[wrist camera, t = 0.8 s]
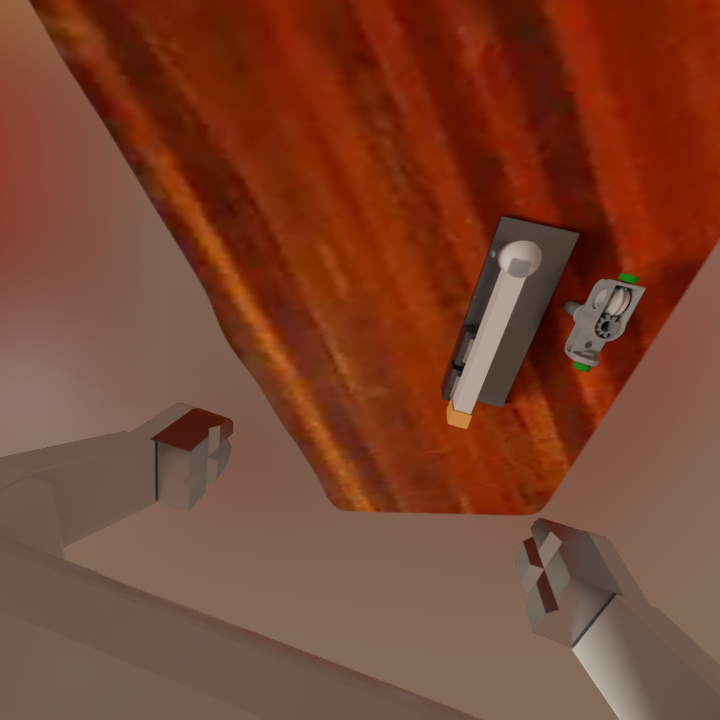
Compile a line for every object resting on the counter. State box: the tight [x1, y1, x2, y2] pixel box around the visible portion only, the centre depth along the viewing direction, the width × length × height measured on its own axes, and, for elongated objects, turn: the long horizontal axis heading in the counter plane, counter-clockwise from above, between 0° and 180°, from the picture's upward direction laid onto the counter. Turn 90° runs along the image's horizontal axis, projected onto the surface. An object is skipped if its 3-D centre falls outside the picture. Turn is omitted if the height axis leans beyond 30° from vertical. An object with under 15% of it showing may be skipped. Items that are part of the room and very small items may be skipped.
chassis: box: [441, 216, 580, 407], centre depth 42 cm, size 24×9×6 cm, turn 168°
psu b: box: [442, 360, 464, 401], centre depth 46 cm, size 5×4×4 cm
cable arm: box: [447, 240, 542, 429], centre depth 39 cm, size 22×4×3 cm, turn 168°
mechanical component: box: [563, 273, 646, 372], centre depth 38 cm, size 3×10×10 cm, turn 168°
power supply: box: [453, 325, 479, 367], centre depth 44 cm, size 5×4×4 cm
